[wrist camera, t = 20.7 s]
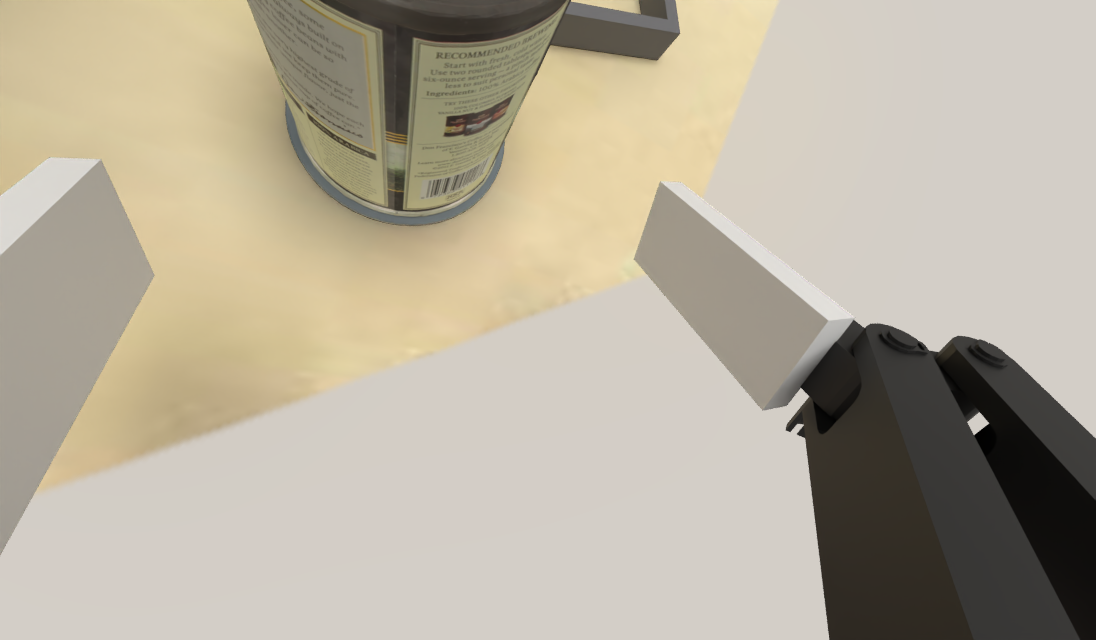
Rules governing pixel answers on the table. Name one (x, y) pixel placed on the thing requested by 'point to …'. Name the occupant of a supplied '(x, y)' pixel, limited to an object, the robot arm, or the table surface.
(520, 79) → the coffee can
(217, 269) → the table surface
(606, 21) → the square picture frame
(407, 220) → the slate coaster
